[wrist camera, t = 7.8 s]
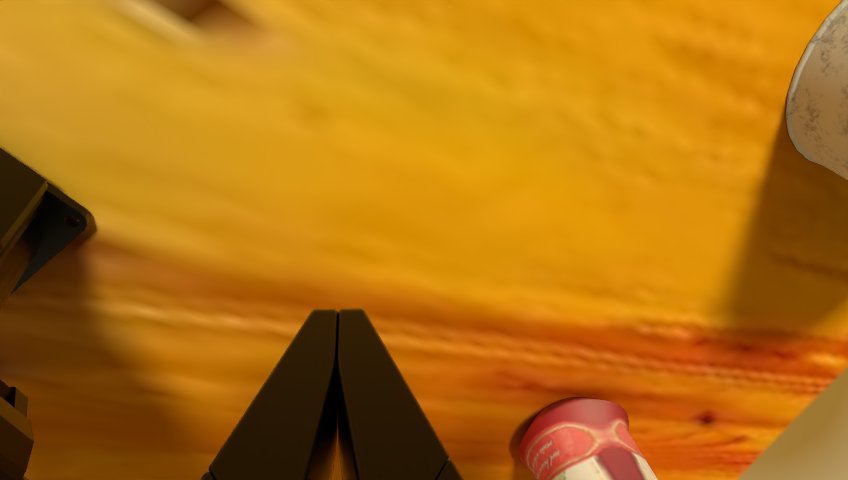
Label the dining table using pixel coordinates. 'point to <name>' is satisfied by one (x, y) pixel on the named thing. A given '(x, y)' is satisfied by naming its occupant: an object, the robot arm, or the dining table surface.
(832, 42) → the grey stubby cylinder
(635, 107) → the dining table surface
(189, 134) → the dining table surface
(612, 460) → the liquor
